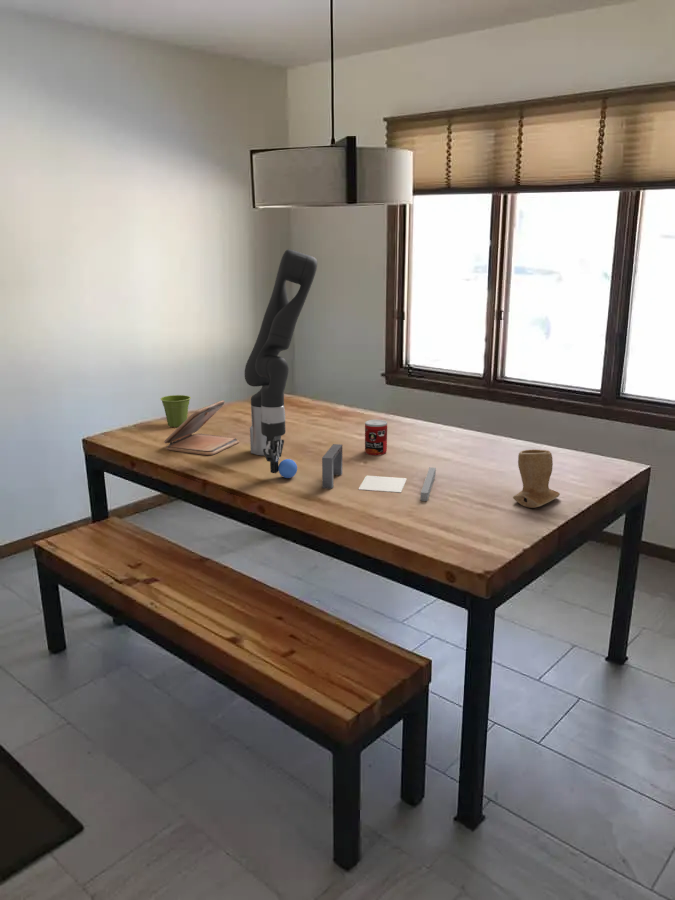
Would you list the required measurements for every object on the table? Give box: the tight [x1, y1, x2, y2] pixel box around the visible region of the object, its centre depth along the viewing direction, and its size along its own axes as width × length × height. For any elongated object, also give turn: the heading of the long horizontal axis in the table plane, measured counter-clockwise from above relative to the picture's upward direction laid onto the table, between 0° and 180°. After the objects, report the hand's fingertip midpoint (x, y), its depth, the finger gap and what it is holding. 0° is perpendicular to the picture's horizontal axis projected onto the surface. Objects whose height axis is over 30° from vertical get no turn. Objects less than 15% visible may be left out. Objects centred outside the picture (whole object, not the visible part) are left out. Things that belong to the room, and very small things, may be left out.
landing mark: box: [358, 475, 407, 494], centre depth 234 cm, size 13×13×1 cm
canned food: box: [364, 419, 388, 456], centre depth 265 cm, size 8×8×11 cm
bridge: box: [321, 443, 343, 490], centre depth 236 cm, size 3×15×10 cm, turn 167°
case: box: [163, 399, 240, 456], centre depth 273 cm, size 20×21×16 cm
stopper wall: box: [420, 467, 437, 502], centre depth 231 cm, size 2×24×2 cm, turn 167°
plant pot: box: [160, 394, 192, 428], centre depth 301 cm, size 12×12×11 cm
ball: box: [278, 458, 298, 479], centre depth 240 cm, size 6×6×6 cm
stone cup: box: [512, 448, 561, 509], centre depth 218 cm, size 15×12×15 cm
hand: (274, 472), depth 240 cm, fingers closed
